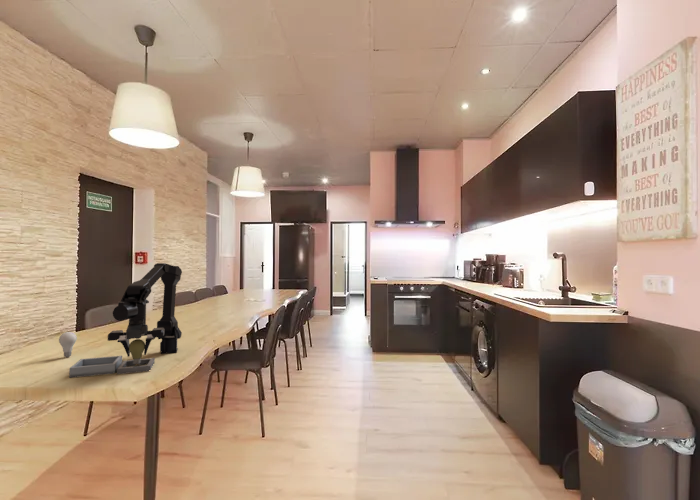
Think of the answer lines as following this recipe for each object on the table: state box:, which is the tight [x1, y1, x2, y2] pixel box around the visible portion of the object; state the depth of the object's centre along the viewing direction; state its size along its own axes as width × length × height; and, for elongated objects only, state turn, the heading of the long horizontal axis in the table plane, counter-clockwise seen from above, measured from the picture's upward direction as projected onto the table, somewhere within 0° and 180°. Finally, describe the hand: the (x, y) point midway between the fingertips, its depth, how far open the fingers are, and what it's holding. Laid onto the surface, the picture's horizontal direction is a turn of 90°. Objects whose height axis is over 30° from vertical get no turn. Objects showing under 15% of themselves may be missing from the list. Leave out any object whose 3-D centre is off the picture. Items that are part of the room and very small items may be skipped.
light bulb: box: [129, 338, 146, 366], centre depth 139 cm, size 6×6×10 cm
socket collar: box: [116, 357, 156, 375], centre depth 139 cm, size 11×11×2 cm
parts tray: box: [68, 355, 123, 379], centre depth 135 cm, size 14×12×4 cm
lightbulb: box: [58, 331, 78, 358], centre depth 152 cm, size 6×6×11 cm
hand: (136, 355), depth 139 cm, fingers closed on light bulb, 5 cm apart
